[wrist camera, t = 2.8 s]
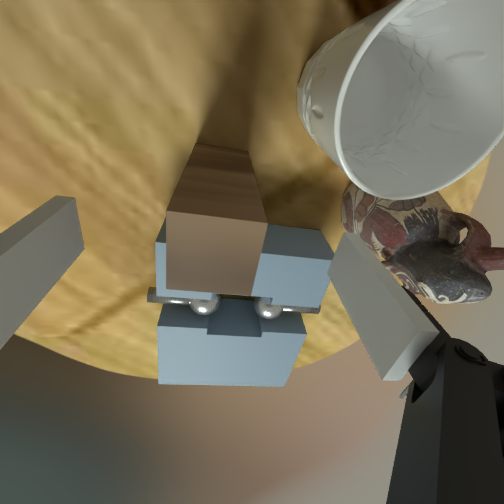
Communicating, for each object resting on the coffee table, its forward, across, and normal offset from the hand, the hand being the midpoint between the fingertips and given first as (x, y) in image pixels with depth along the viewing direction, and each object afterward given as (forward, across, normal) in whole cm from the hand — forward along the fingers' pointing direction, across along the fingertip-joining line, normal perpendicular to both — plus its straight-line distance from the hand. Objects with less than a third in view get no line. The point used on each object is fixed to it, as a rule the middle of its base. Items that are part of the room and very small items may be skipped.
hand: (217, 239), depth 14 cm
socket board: (+10, +3, -12) cm, 16 cm away
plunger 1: (+8, -2, -11) cm, 14 cm away
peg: (+10, 0, 0) cm, 10 cm away
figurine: (+10, +14, 0) cm, 17 cm away
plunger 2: (+8, +8, -11) cm, 15 cm away
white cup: (+10, +8, +8) cm, 15 cm away
